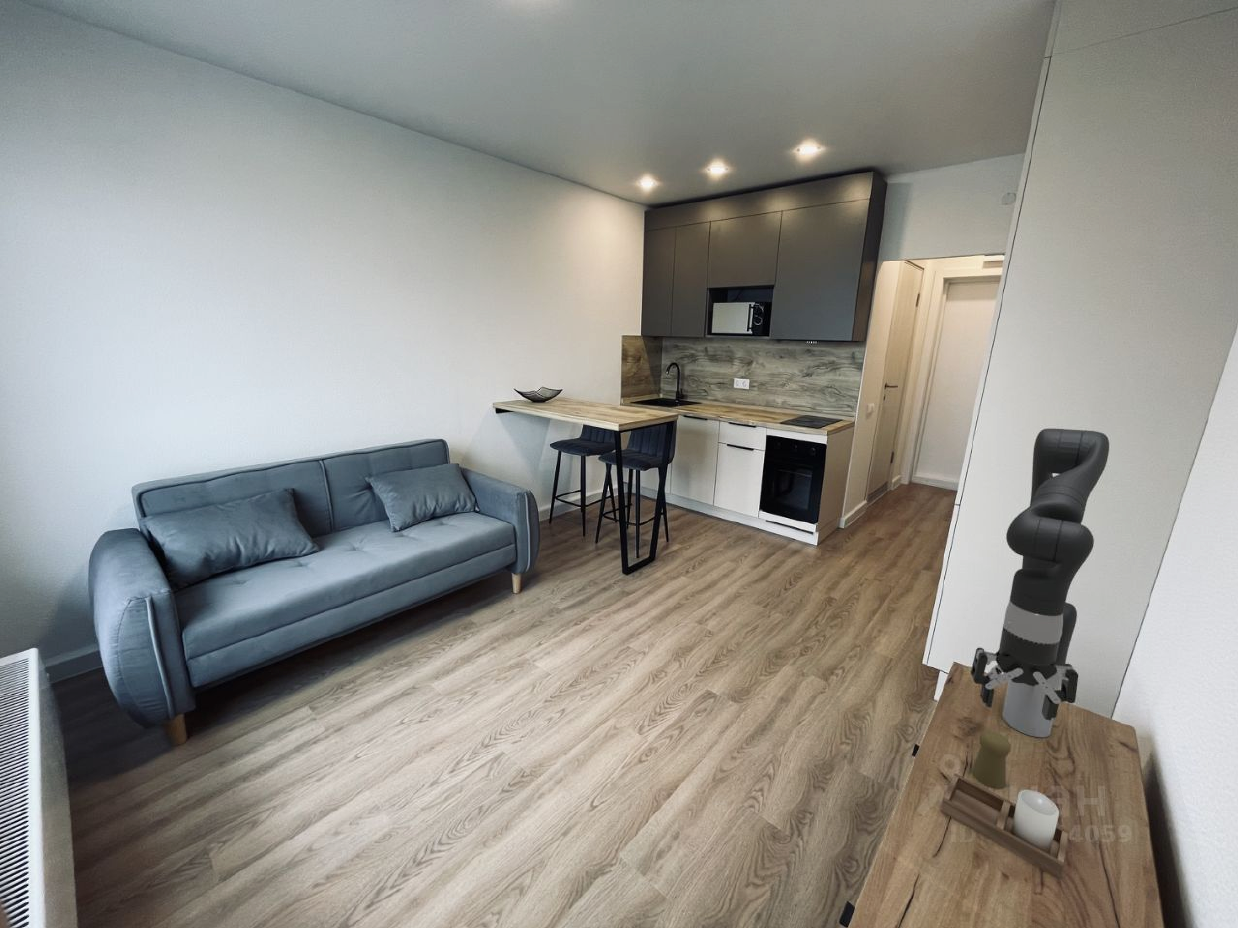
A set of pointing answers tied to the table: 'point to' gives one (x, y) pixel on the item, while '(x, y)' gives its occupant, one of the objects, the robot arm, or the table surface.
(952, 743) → the table surface
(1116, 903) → the table surface
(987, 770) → the pepper shaker
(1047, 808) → the salt shaker
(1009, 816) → the caddy
